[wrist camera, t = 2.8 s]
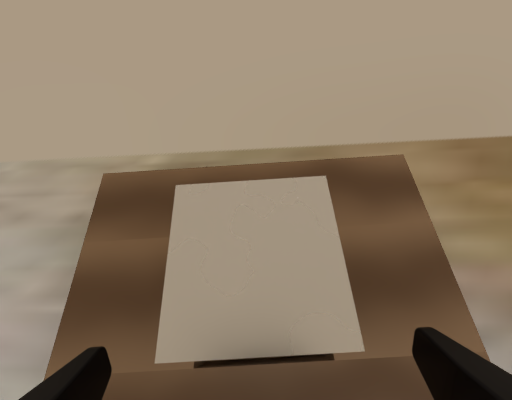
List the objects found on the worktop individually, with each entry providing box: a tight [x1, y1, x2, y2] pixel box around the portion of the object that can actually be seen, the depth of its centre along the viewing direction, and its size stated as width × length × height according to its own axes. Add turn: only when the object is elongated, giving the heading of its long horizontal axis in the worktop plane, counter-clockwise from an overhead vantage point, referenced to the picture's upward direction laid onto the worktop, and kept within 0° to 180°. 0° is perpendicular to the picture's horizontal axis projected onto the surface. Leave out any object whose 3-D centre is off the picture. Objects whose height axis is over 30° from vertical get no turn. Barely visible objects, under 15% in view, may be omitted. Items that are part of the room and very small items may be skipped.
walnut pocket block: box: [44, 155, 490, 400], centre depth 15 cm, size 15×20×6 cm
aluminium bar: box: [155, 176, 365, 364], centre depth 12 cm, size 5×5×10 cm
